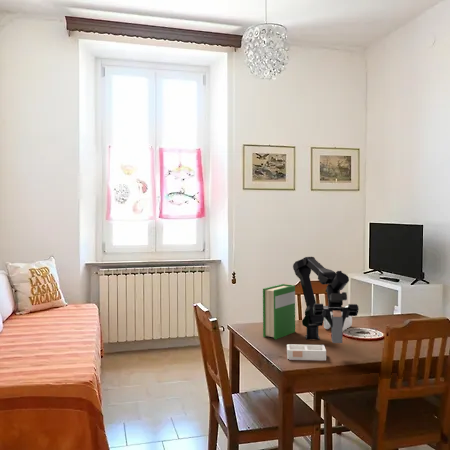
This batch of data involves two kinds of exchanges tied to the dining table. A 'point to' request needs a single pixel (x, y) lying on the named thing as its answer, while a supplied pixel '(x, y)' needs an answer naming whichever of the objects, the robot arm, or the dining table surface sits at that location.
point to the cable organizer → (346, 323)
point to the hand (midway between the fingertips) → (337, 327)
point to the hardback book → (278, 311)
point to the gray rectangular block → (337, 326)
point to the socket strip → (306, 352)
